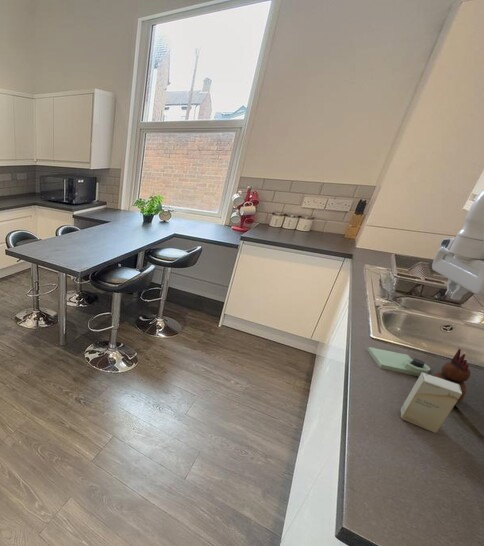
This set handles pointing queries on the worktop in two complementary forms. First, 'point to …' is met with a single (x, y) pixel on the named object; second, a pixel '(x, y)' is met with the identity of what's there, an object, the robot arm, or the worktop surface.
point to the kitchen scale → (396, 362)
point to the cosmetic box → (430, 402)
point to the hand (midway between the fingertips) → (452, 297)
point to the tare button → (417, 363)
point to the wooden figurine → (456, 372)
